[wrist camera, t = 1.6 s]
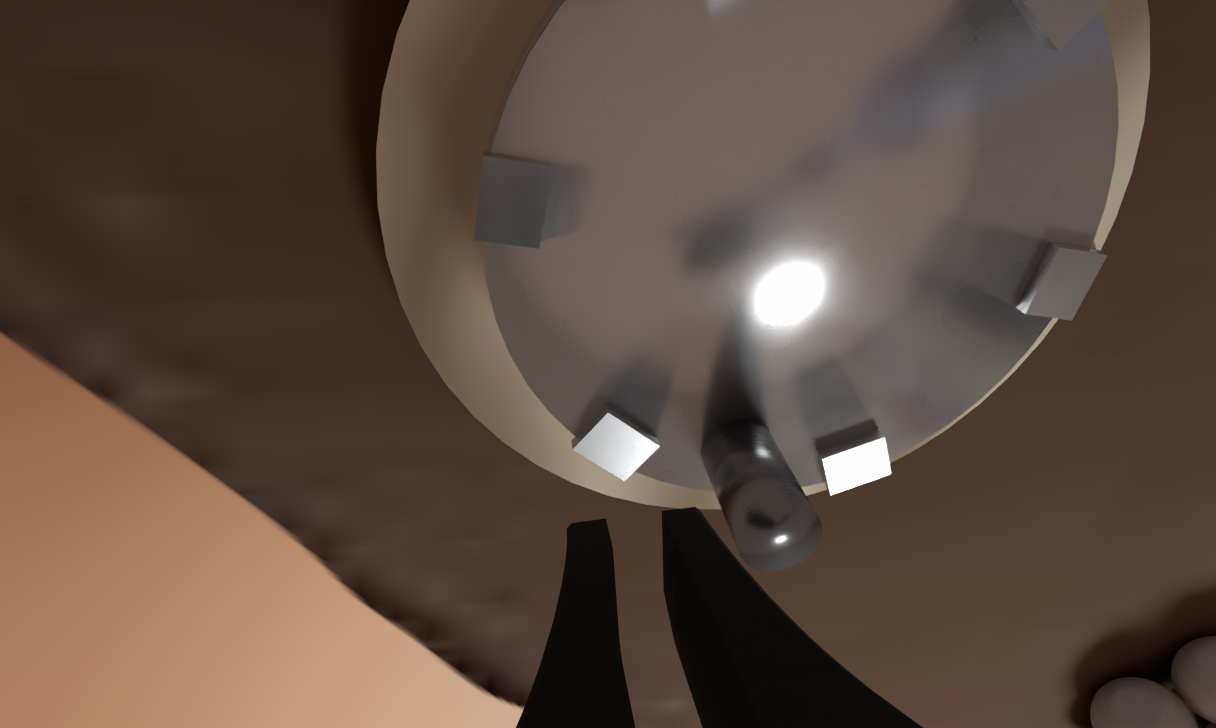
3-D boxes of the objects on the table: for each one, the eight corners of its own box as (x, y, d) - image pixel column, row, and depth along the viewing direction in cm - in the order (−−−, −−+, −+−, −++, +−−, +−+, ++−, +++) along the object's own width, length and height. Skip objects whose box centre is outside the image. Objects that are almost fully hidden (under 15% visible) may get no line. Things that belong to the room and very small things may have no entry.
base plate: (1258, -144, 17) (1327, -153, 16) (930, 497, 27) (955, 529, 25) (408, -411, 13) (398, -457, 12) (370, 458, 23) (361, 493, 21)
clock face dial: (1177, -50, 17) (1448, -50, 12) (923, 467, 24) (1030, 596, 19) (522, -228, 13) (537, -326, 9) (452, 430, 20) (439, 573, 16)
